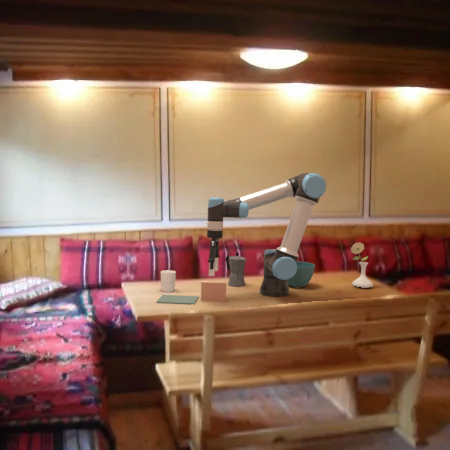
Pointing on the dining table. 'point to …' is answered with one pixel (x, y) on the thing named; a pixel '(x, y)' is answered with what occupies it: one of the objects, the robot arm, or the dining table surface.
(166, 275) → the white cup
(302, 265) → the teal bowl
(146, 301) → the dining table surface
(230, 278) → the coffeepot
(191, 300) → the mat
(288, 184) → the robot arm
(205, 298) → the plaque
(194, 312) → the dining table surface
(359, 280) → the flower in vase
